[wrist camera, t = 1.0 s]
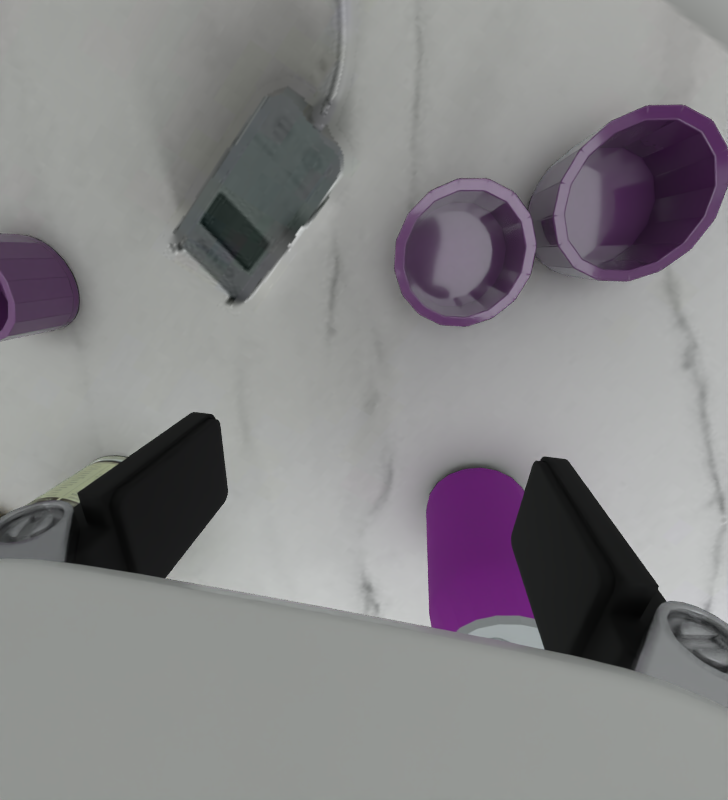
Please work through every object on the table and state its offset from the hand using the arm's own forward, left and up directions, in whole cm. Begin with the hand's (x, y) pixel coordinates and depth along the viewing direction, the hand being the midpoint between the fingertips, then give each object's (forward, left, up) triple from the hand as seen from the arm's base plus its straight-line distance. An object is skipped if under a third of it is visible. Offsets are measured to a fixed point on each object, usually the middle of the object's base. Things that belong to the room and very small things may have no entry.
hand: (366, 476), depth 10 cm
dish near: (-12, +6, -14) cm, 20 cm away
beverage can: (+8, +11, -15) cm, 20 cm away
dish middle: (-7, +1, -14) cm, 16 cm away
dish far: (+7, -26, -14) cm, 31 cm away
